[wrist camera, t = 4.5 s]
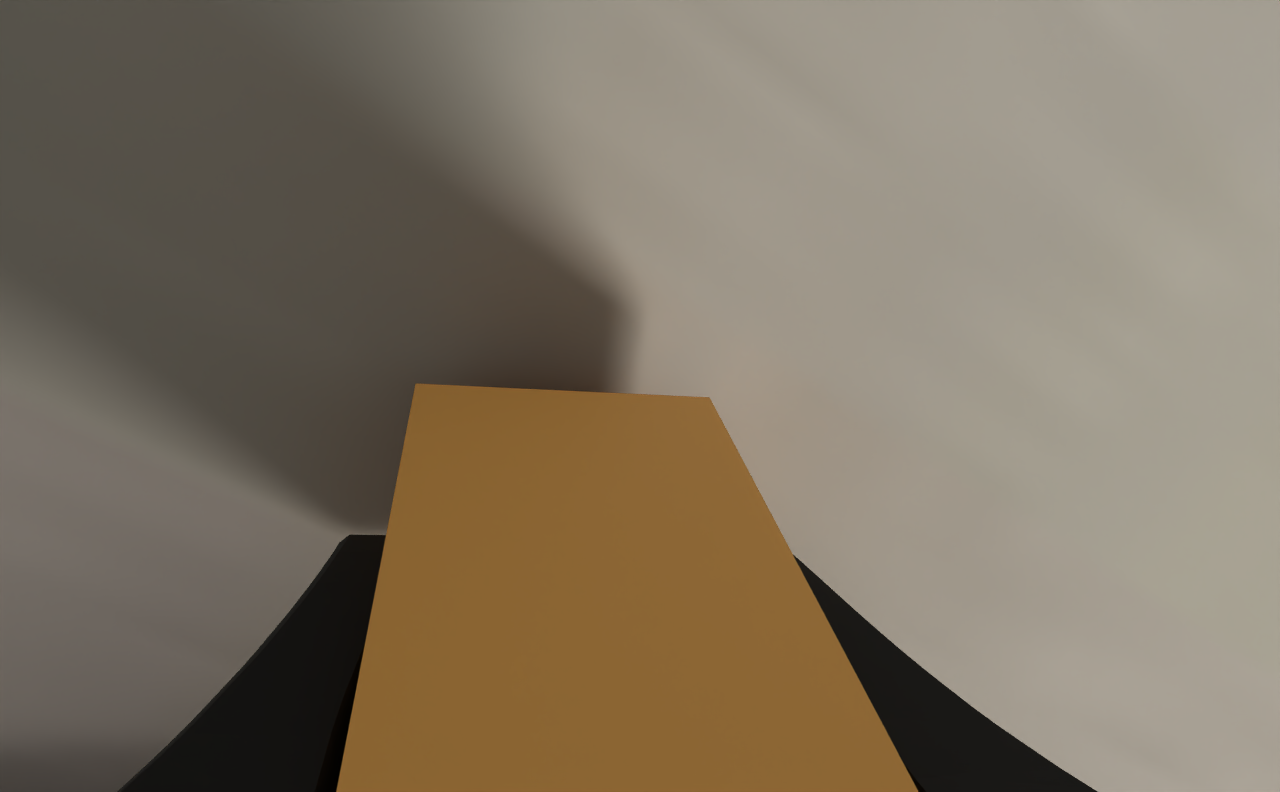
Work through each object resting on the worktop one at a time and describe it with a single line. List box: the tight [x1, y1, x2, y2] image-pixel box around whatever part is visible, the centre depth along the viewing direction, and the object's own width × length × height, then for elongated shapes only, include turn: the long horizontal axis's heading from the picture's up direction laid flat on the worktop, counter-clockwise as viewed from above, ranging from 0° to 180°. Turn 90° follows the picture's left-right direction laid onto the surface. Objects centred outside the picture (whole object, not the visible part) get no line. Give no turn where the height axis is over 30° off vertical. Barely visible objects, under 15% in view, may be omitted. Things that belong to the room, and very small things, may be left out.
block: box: [336, 384, 918, 792], centre depth 9 cm, size 4×4×7 cm
